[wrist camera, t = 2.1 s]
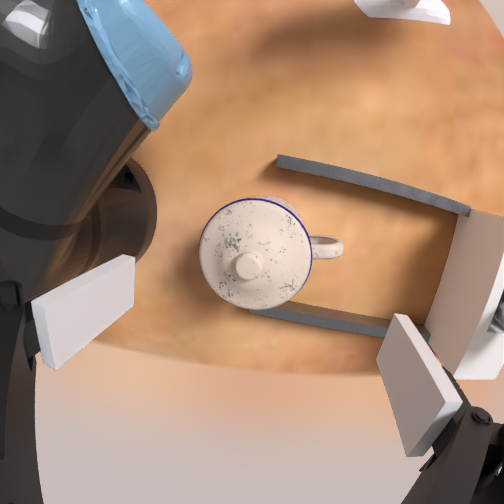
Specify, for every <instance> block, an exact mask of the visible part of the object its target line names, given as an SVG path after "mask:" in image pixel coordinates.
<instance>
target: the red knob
mask: <svg viewBox="0 0 504 504" xmlns="http://www.w3.org/2000/svg"><path fill="white" fill-rule="evenodd" d="M493 317H494V318H495V319H496V320H497V321H498V322H499V323H500V324H502V325H503V326H504V289H503V292H502V295H501V298H500V301H499V303H498V306H497V308H496V311H495V313H494V316H493Z"/></svg>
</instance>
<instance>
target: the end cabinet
mask: <svg viewBox="0 0 504 504" xmlns="http://www.w3.org/2000/svg"><path fill="white" fill-rule="evenodd" d="M503 289H504V217H501V216H498V215H494V214H490V213H486V212H482V211H478V210H474V209H471V211H470V216H469V217H465V216H462V215H458V219H457V224H456V228H455V232H454V236H453V240H452V244H451V247H450V251H449V254H448V258H447V261H446V265H445V268H444V271H443V274H442V277H441V280H440V283H439V286H438V289H437V292H436V295H435V298H434V301H433V303H432V306H431V309H430V311H429V314H428V316H427V319H426V321H425V324H424V326H425V327H426V329H427V330H428V331H429V333H430V334H431V336H430V338H429V341H428V343H429V345H430V346H431V348H432V349H433V351H434V352H435V354H436V355H437V357H438V358H439V360H440V361H441V363H442V364H443V366H444V367H445V368H446V369H447V370H448V371H449V372H450V373H451V374H452V375H453V377H454V378H455V379H495V378H496V376H497V374H498V373H499V371H500V369H501V367H502V366H503V364H504V326H503V325H502V324H500V323H499V322H498V321H497V320H496V319H495V318H494V317H493V316H494V313H495V311H496V308H497V306H498V303H499V301H500V298H501V295H502V292H503Z"/></svg>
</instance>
